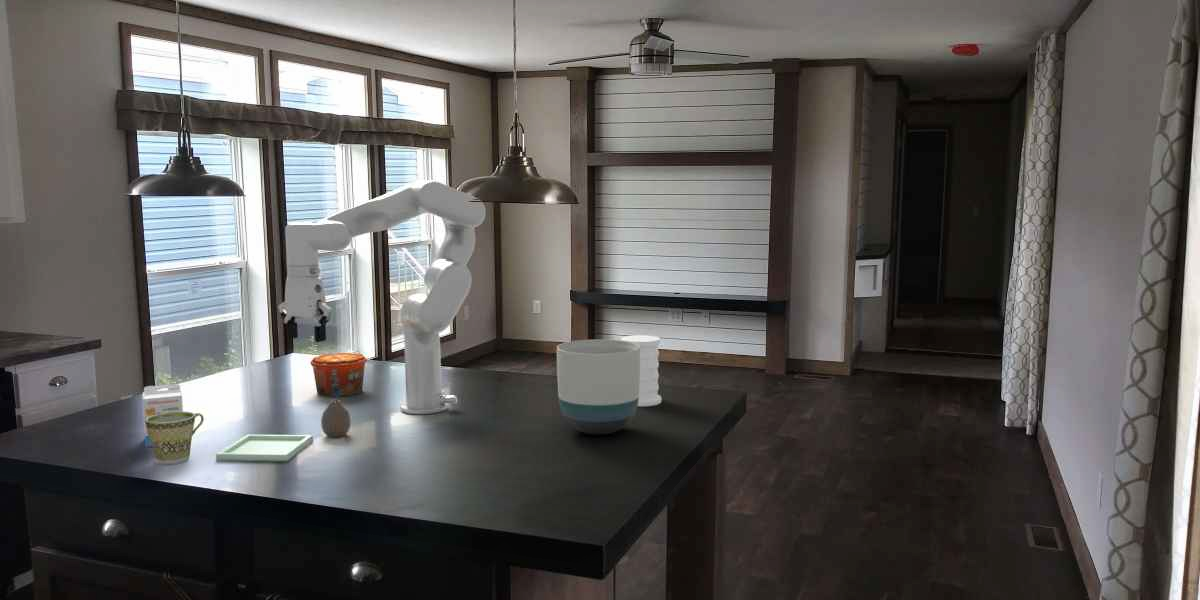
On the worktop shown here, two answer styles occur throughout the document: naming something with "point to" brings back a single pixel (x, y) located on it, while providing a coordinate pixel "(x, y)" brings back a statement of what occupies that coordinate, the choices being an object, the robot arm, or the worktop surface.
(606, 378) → the planter
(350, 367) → the food container
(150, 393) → the ink box
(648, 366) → the decorative container
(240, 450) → the tray
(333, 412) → the vase
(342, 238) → the robot arm
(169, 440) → the ceramic cup
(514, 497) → the worktop surface
